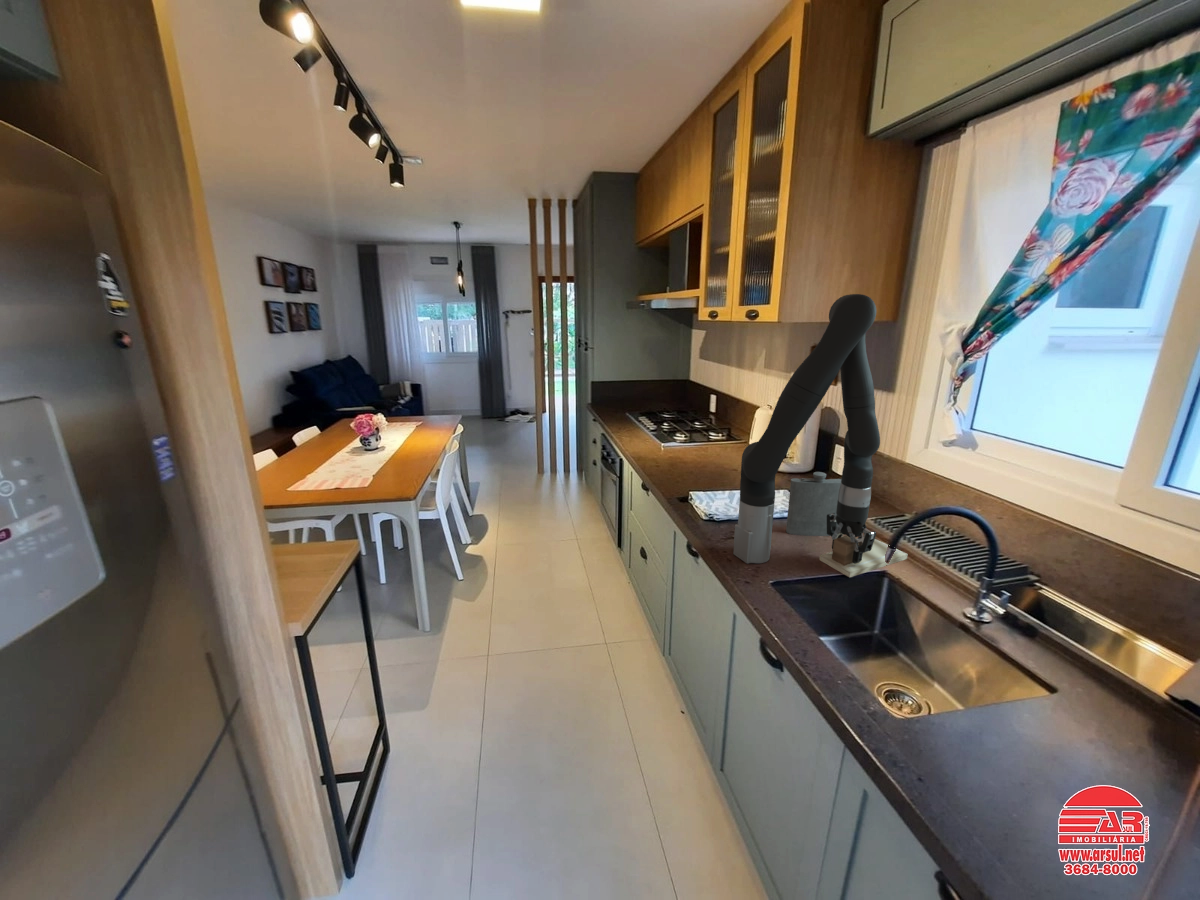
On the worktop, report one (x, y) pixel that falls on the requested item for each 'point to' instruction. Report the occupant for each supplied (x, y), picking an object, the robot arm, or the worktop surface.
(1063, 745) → the worktop surface
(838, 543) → the block
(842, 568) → the birch board
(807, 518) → the hip flask
